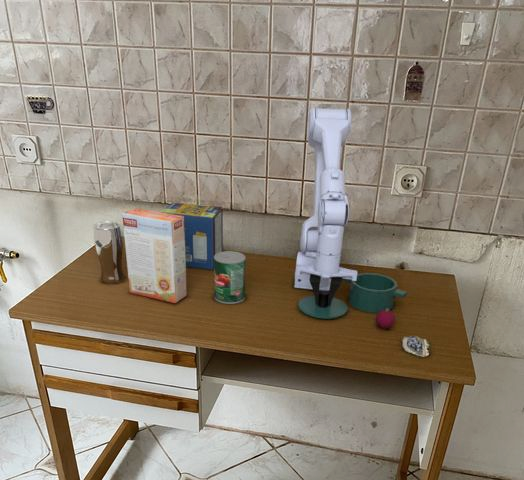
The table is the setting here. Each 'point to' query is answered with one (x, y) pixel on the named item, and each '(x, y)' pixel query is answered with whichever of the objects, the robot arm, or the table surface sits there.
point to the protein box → (200, 232)
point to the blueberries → (416, 345)
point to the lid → (323, 306)
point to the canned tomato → (229, 277)
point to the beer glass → (109, 251)
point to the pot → (373, 292)
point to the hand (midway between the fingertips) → (323, 303)
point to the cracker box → (155, 254)
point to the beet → (385, 319)
